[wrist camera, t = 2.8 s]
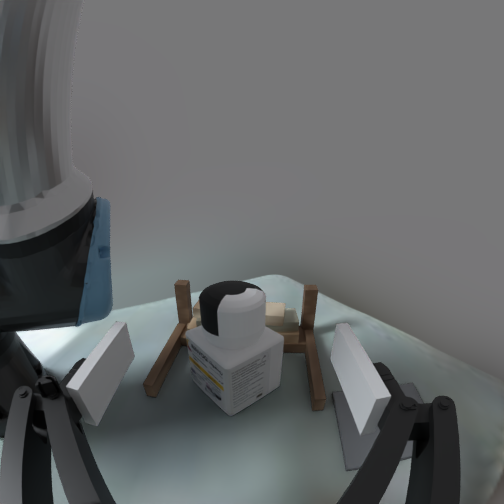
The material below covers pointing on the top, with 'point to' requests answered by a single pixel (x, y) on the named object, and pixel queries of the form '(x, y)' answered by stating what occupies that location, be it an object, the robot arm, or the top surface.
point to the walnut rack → (303, 346)
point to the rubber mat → (358, 444)
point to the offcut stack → (267, 320)
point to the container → (234, 346)
